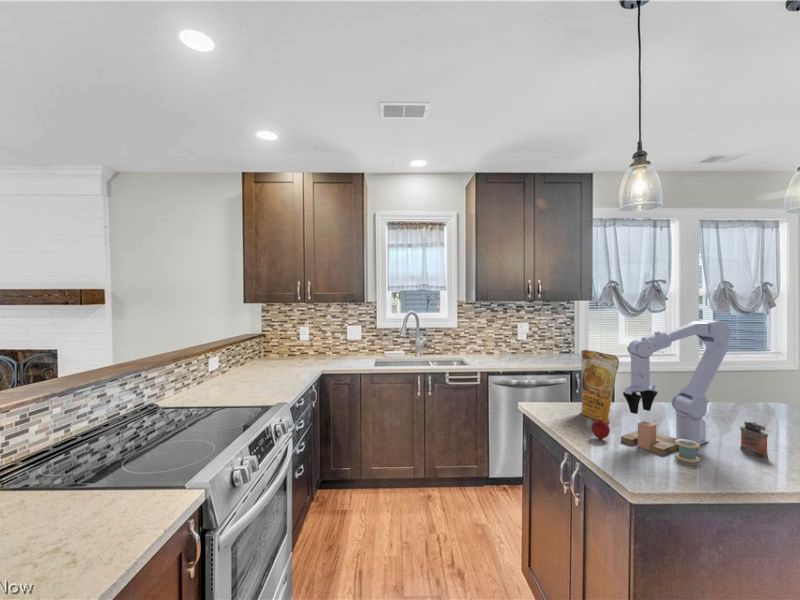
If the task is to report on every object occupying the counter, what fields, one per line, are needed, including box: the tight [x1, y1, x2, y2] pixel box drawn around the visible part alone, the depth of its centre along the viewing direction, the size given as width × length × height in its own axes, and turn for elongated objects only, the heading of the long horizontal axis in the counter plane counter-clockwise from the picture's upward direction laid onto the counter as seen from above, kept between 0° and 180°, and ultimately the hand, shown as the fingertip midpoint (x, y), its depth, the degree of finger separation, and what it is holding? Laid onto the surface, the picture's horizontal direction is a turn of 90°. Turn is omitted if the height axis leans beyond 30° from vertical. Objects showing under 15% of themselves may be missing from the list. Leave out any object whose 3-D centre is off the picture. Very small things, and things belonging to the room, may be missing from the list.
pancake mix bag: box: [580, 349, 620, 424], centre depth 164 cm, size 7×19×28 cm, turn 13°
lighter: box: [739, 420, 769, 459], centre depth 126 cm, size 8×3×10 cm, turn 5°
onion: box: [591, 417, 611, 440], centre depth 140 cm, size 6×6×8 cm
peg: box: [637, 421, 657, 451], centre depth 133 cm, size 4×4×8 cm
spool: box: [674, 439, 701, 464], centre depth 123 cm, size 6×6×5 cm
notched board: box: [620, 430, 679, 456], centre depth 135 cm, size 14×14×2 cm
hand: (640, 411), depth 138 cm, fingers open, 7 cm apart
